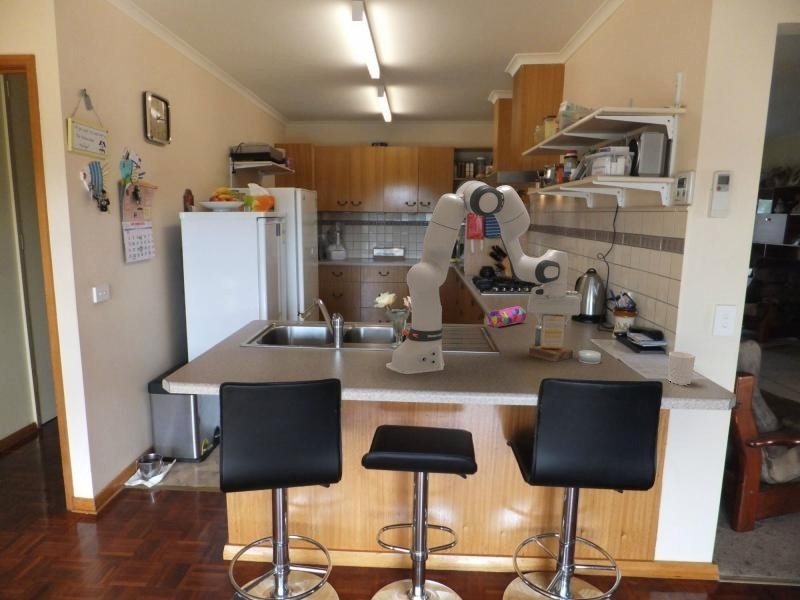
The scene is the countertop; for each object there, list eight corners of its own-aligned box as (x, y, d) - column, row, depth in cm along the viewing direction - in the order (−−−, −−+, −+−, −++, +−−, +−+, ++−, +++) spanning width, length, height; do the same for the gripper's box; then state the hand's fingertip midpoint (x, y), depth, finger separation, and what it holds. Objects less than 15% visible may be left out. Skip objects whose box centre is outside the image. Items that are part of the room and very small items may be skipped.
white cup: (670, 385, 176) (673, 356, 175) (663, 378, 184) (665, 350, 182) (695, 387, 175) (699, 358, 173) (687, 379, 183) (690, 352, 181)
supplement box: (560, 346, 211) (562, 314, 209) (562, 349, 207) (565, 316, 204) (539, 345, 212) (541, 313, 210) (541, 348, 207) (543, 315, 205)
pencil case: (501, 329, 258) (502, 311, 257) (486, 326, 265) (487, 308, 264) (527, 323, 273) (528, 306, 271) (512, 320, 280) (513, 304, 278)
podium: (553, 362, 202) (553, 354, 201) (528, 355, 211) (529, 347, 211) (572, 357, 209) (573, 349, 208) (547, 351, 218) (548, 343, 218)
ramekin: (592, 365, 198) (593, 356, 198) (574, 360, 205) (574, 352, 204) (604, 362, 203) (605, 353, 203) (586, 357, 210) (586, 349, 209)
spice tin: (541, 348, 222) (542, 328, 221) (531, 345, 227) (532, 325, 225) (549, 346, 226) (551, 326, 224) (539, 344, 230) (541, 324, 228)
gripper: (581, 290, 207) (578, 324, 209) (528, 288, 211) (526, 321, 213) (583, 292, 201) (580, 328, 203) (528, 290, 204) (526, 324, 207)
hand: (552, 324), depth 208 cm, fingers closed on supplement box, 8 cm apart
